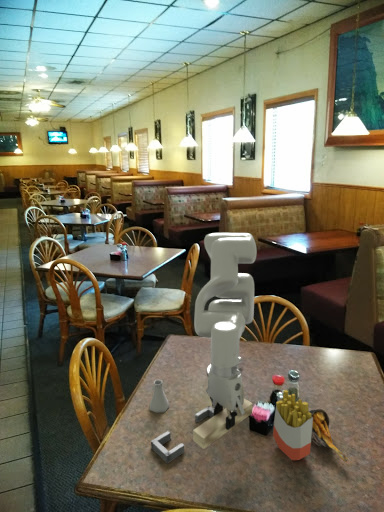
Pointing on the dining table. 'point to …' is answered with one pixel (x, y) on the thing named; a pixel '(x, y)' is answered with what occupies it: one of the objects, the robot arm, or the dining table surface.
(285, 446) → the french fries container
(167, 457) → the end cap
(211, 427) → the birch slat
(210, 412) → the end cap
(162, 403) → the flask
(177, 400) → the dining table surface
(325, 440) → the fried food
